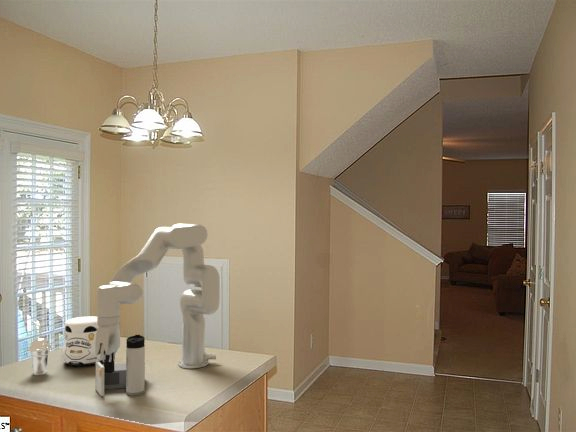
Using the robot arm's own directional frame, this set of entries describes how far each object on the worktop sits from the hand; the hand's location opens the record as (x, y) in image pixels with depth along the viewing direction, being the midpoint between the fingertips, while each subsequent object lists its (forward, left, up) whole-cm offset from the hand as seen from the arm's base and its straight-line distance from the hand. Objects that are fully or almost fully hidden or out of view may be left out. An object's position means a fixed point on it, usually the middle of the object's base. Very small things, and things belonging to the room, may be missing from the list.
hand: (109, 372), depth 177 cm
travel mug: (-9, 0, -8) cm, 12 cm away
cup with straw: (+30, -30, -8) cm, 43 cm away
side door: (+3, -1, -8) cm, 8 cm away
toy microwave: (-3, -10, -8) cm, 13 cm away
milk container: (+15, -41, -8) cm, 44 cm away
